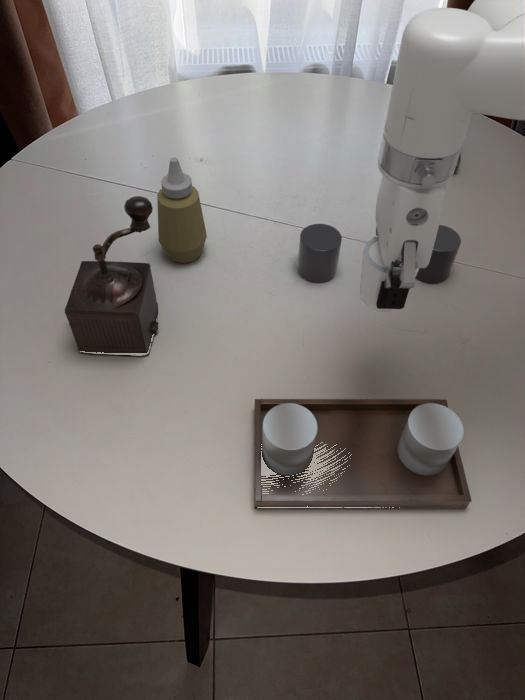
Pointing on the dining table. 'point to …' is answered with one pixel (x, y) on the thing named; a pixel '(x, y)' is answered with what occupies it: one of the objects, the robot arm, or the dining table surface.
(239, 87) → the dining table surface
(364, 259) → the white cup
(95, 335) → the manual coffee grinder
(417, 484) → the tray
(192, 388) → the dining table surface
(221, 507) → the dining table surface
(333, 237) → the grey cylinders
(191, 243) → the squeeze bottle
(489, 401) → the dining table surface
